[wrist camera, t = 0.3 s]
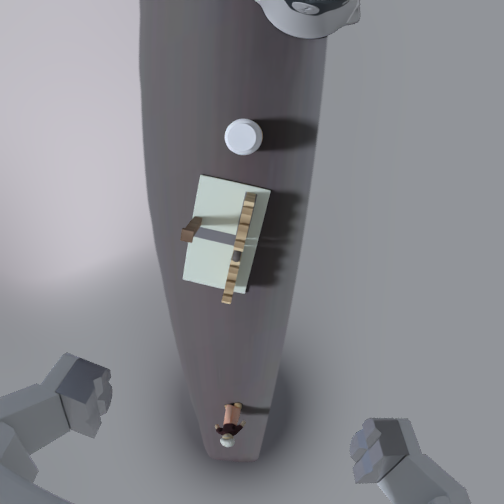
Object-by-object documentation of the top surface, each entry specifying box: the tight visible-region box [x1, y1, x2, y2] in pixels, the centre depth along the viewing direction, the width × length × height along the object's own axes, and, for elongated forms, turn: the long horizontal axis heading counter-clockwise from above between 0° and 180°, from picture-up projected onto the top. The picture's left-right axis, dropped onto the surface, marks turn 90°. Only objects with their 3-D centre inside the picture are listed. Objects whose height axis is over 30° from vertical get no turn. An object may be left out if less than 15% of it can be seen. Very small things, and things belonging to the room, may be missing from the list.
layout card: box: [183, 175, 271, 294], centre depth 56 cm, size 20×12×1 cm, turn 167°
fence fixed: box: [232, 192, 256, 262], centre depth 51 cm, size 10×2×7 cm, turn 167°
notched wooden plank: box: [222, 251, 242, 304], centre depth 54 cm, size 8×2×7 cm, turn 167°
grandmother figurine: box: [215, 403, 246, 447], centre depth 67 cm, size 8×4×13 cm, turn 119°
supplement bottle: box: [225, 119, 263, 155], centre depth 45 cm, size 5×5×10 cm
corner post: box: [180, 216, 202, 243], centre depth 51 cm, size 2×2×8 cm
